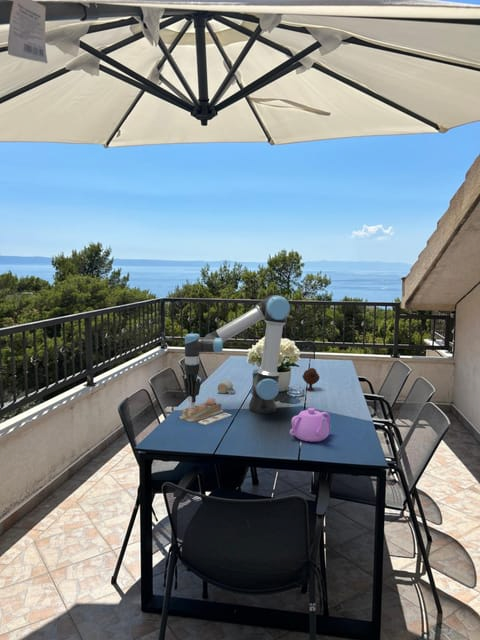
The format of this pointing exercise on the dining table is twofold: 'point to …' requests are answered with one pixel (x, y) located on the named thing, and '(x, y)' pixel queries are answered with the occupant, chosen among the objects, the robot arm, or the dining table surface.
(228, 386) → the ceramic mug
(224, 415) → the pattern card
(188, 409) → the button
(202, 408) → the button middle
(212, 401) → the button
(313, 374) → the brown tree model
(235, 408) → the dining table surface
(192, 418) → the button panel
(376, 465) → the dining table surface
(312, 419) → the teapot
